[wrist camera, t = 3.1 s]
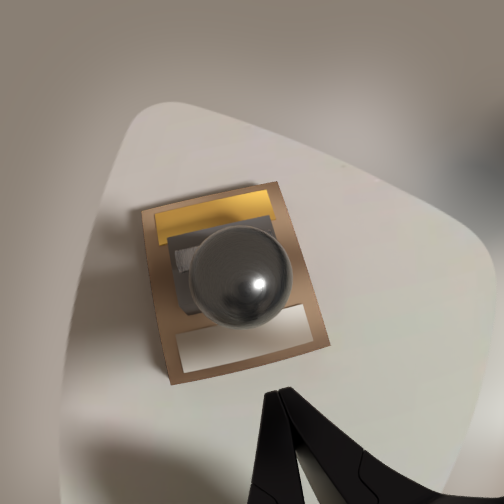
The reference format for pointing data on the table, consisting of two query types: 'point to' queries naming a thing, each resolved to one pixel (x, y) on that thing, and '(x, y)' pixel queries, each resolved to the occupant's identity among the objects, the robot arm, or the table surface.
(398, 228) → the table surface
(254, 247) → the lever
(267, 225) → the switch unit
